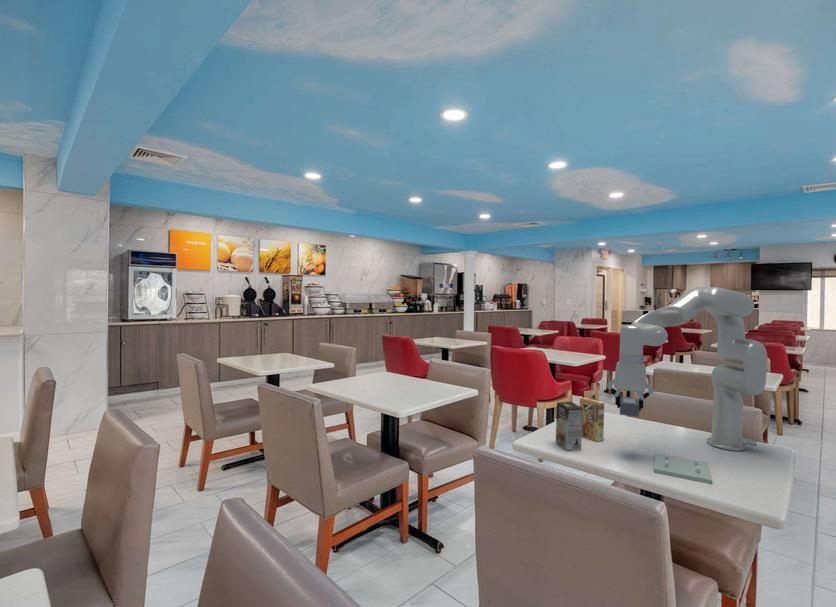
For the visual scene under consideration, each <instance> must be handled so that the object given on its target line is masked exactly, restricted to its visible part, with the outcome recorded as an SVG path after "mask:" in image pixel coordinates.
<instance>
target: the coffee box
mask: <svg viewBox="0 0 836 607" xmlns="http://www.w3.org/2000/svg"><path fill="white" fill-rule="evenodd" d="M556 404H557V405H556V420H555V421H556V424H555V425H556V427H555V429H556V430H555V443H556V444H558V446H560V447H561V448H562V447H563V448H564V450H565V451H566V450H576V451H582V442H583V441H582V439H583V438H582V437H583V436H582V419H583V408H581V407H580V405H578V404H576V403H574V402H572V401H560V402H558V401H557V402H556Z"/></svg>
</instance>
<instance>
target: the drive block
mask: <svg viewBox="0 0 836 607" xmlns="http://www.w3.org/2000/svg"><path fill="white" fill-rule="evenodd" d="M619 415H621V416H626V417H627V416H629V417H636V418H640V417H639V416H640V411H639V398H635V397H633V398H632V397H624V396H620V408H619Z"/></svg>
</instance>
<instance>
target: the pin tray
mask: <svg viewBox="0 0 836 607" xmlns="http://www.w3.org/2000/svg"><path fill="white" fill-rule="evenodd" d="M653 473H656V474H660V475H666V476H670V477H676V478H679V479H685V480H690V481H694V482H695V481H696V482H699V483H706V484H710V485H712V484H713V479H712V478H713V477H712V475H711V473H712V472H711V470H710V466H709V462H705V461H701V460H699V458H697V457H696V458H694V459H690V458H686V457H684V458H683V457H680V456H675V455H674V456H673V455H669V453H667V452H664V454H663V453H662V454H661V453H658V452H655V453H654V466H653Z"/></svg>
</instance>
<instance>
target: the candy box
mask: <svg viewBox="0 0 836 607" xmlns="http://www.w3.org/2000/svg"><path fill="white" fill-rule="evenodd" d="M579 406H580V407H581V408H583V419H582V437H583V438H586V439H589V440H592V441H595V442H601V441H604V435H605V434H604V430H605V429H604V427H605V425H604V424H605V402H604V401H600V400H597V399H593V398H589V397H582V398H579Z"/></svg>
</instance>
